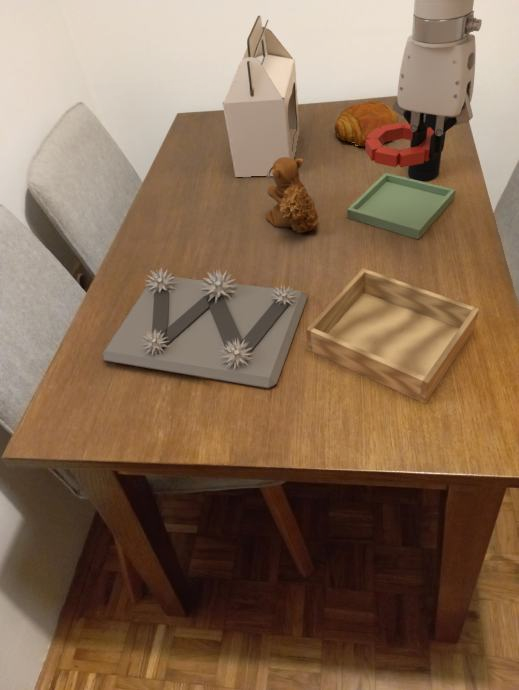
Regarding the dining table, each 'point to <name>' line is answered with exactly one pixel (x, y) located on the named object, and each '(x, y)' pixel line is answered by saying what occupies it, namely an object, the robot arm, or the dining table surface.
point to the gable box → (262, 105)
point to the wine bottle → (430, 167)
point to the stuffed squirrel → (290, 198)
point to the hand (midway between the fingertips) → (426, 153)
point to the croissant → (363, 121)
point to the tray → (401, 205)
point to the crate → (393, 332)
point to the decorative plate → (209, 329)
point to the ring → (395, 155)
